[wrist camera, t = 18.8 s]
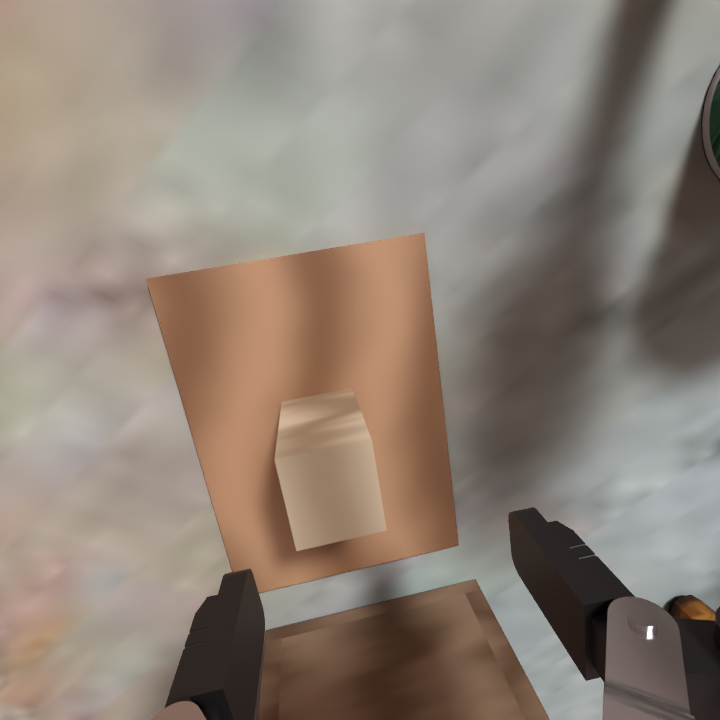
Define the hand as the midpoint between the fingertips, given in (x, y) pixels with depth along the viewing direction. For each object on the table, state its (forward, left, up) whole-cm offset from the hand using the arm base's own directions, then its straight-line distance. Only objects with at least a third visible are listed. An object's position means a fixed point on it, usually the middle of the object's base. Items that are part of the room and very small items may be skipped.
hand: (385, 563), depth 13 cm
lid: (+1, 0, -10) cm, 11 cm away
